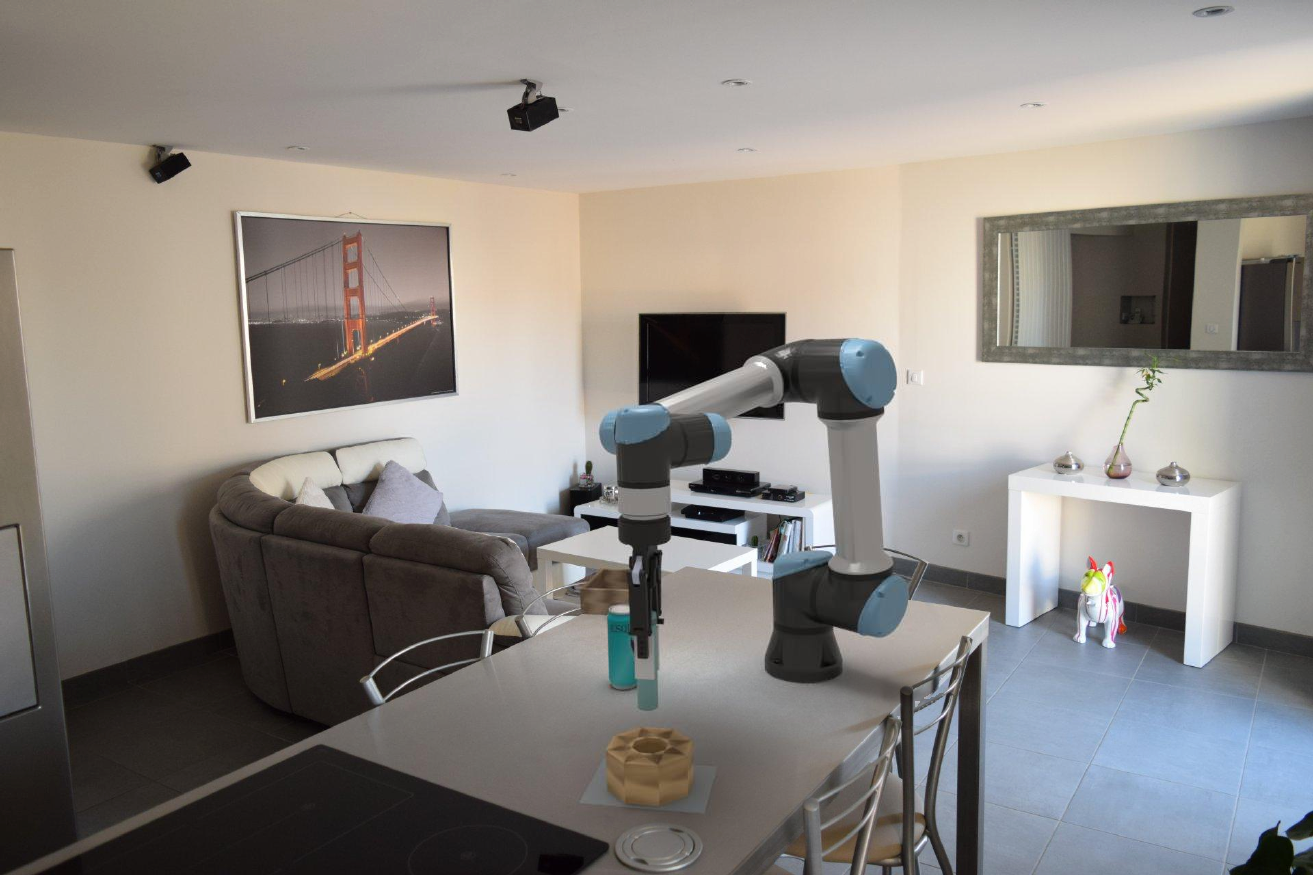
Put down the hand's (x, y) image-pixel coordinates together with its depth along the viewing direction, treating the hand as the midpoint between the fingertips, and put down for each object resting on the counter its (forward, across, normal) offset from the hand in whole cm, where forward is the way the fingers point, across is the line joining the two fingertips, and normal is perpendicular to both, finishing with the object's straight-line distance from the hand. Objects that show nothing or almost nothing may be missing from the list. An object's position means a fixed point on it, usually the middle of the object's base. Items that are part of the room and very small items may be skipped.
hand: (647, 673), depth 135 cm
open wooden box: (+17, -89, -26) cm, 94 cm away
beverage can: (+18, -38, -13) cm, 44 cm away
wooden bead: (+17, 0, 0) cm, 17 cm away
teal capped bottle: (+5, 0, 0) cm, 5 cm away
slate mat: (+17, 0, 0) cm, 17 cm away
